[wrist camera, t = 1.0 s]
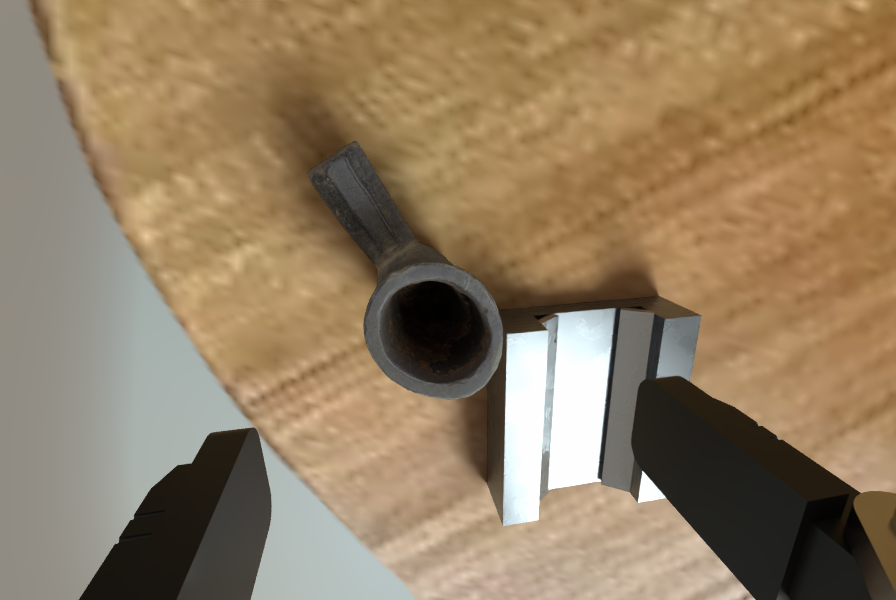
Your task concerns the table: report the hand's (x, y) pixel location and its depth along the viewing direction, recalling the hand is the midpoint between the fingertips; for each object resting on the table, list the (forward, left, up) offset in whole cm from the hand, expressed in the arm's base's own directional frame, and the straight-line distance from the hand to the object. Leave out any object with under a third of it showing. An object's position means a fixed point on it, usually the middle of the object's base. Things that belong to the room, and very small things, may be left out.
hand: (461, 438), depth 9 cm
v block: (+11, +12, -18) cm, 24 cm away
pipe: (0, 0, -18) cm, 18 cm away
